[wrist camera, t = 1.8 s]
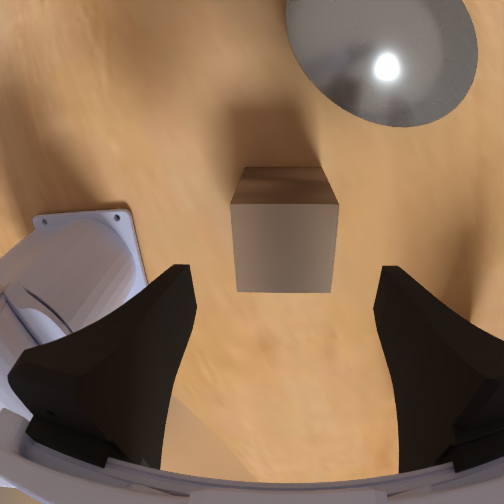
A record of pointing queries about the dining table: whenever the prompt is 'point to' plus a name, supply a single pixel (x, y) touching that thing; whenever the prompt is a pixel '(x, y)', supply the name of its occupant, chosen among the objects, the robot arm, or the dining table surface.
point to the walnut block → (284, 230)
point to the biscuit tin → (386, 55)
